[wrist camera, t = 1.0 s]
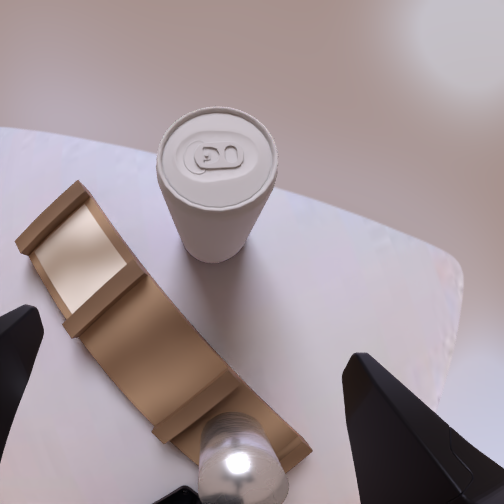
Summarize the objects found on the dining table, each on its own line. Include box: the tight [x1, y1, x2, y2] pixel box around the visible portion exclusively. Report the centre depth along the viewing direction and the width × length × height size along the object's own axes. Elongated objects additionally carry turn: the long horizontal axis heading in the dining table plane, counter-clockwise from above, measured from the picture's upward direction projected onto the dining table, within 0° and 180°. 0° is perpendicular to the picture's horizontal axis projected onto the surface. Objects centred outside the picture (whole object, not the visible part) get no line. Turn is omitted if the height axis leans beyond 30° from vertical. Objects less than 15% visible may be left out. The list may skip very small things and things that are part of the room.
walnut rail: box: [15, 180, 313, 473], centre depth 19 cm, size 26×7×3 cm, turn 41°
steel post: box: [198, 412, 289, 504], centre depth 15 cm, size 5×5×7 cm
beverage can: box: [156, 107, 278, 263], centre depth 17 cm, size 5×5×12 cm
